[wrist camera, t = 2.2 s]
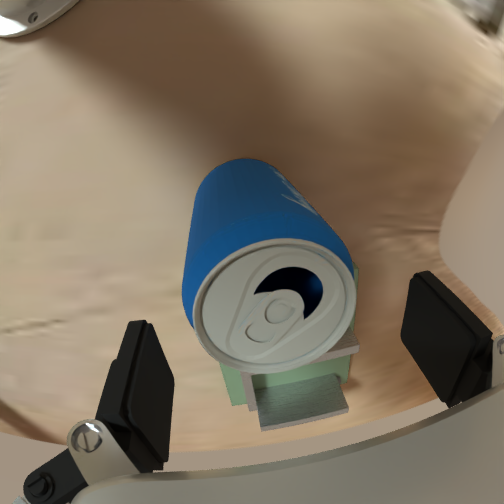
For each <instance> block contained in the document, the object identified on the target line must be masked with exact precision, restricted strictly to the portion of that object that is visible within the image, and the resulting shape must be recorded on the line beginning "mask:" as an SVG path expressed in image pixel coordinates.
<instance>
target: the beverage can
mask: <svg viewBox="0 0 504 504" xmlns="http://www.w3.org/2000/svg"><path fill="white" fill-rule="evenodd" d="M356 299H357V297H356V287H355V283H354V268H353V264H352V260H351V257H350V254H349V252H348V250H347V248H346V246H345V245H344V243H343V241H342V240H341V239H340V238H339V236H338V235H337V234H336V233H335V232H334V231H333V230H332V228H331V227H330V226H329V225H328V224H327V223H326V222H325V221H324V219H323V218H322V217H321V216H320V215H319V214H318V213H317V212H316V210H315V209H314V208H313V207H312V206H311V205H310V204H309V203H308V202H307V201H306V199H305V198H304V197H303V196H302V195H301V194H300V193H299V192H298V191H297V190H296V189H295V188H294V186H293V185H292V184H291V183H290V182H289V181H288V180H287V179H286V178H285V177H284V176H283V175H282V174H281V173H280V172H279V171H278V170H277V169H276V168H274V167H273V166H271V165H269V164H267V163H265V162H263V161H259V160H255V159H237V160H232V161H229V162H226V163H224V164H222V165H220V166H218V167H216V168H215V169H214V170H212V171H211V172H210V173H209V174H208V175H207V176H206V177H205V179H204V180H203V181H202V183H201V185H200V186H199V188H198V191H197V193H196V197H195V202H194V208H193V214H192V220H191V227H190V233H189V240H188V246H187V253H186V260H185V267H184V275H183V282H182V300H183V306H184V310H185V313H186V316H187V318H188V320H189V322H190V324H191V326H192V327H193V329H194V330H195V333H196V336H197V338H198V340H199V342H200V344H201V345H202V346H203V348H204V349H205V350H206V351H207V352H208V353H209V355H211V356H212V357H213V358H214V359H216V360H217V361H219V362H220V363H222V364H224V365H226V366H228V367H230V368H232V369H236V370H239V371H243V372H248V373H257V374H270V373H279V372H284V371H289V370H292V369H296V368H298V367H301V366H303V365H306V364H308V363H310V362H312V361H314V360H315V359H317V358H319V357H320V356H322V355H323V354H324V353H326V352H327V351H328V350H330V349H331V348H332V347H333V346H334V345H335V344H336V343H337V342H338V341H339V340H340V338H341V337H342V336H343V334H344V333H345V332H346V330H347V328H348V327H349V325H350V323H351V320H352V318H353V315H354V312H355V308H356Z"/></svg>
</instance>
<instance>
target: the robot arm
mask: <svg viewBox="0 0 504 504" xmlns="http://www.w3.org/2000/svg"><path fill="white" fill-rule="evenodd" d="M78 1H79V0H0V37H4V38H7V37H18V36H21V35H25V34H29V33H31V32H33V31H35V30H38V29H40V28H42V27H44V26H46V25H47V24H49V23H50V22H52V21H54V20H55V19H57V18H58V17H60V16H61V15H62V14H64V13H65V12H66V11H68V10H69V9H70V8H72V7H73V6H74V5H75V4H76V3H77V2H78ZM492 334H493V333H492V332H491V331H490V330H489V329H488V328H487V327H486V326H485V325H484V323H483V322H482V321H481V320H480V319H479V318H478V317H477V316H476V315H475V314H474V313H473V312H472V311H471V310H470V309H469V308H468V307H467V306H466V305H465V304H464V303H463V302H462V301H461V300H460V299H459V298H458V297H457V296H456V295H455V294H454V293H453V292H452V291H451V290H450V289H448V288H447V287H446V286H445V285H444V284H443V283H442V282H441V281H440V280H439V279H438V278H437V277H436V276H435V275H434V274H432V273H431V272H430V271H423V272H419V273H416V274H414V276H413V278H411V280H410V284H409V290H408V296H407V302H406V308H405V313H404V319H403V324H402V329H401V340H402V342H403V344H404V345H405V347H406V348H407V350H408V351H409V352H410V354H411V355H412V357H413V358H414V360H415V361H416V363H417V364H418V366H419V368H420V369H421V371H422V372H423V374H424V375H425V377H426V378H427V380H428V381H429V383H430V385H431V386H432V388H433V389H434V391H435V392H436V394H437V396H438V397H439V399H440V400H441V401H442V402H445V403H446V405H447V406H448V408H449V409H447V410H445V411H443V412H441V413H438V414H436V415H434V416H431V417H429V418H427V419H424V420H422V421H419V422H417V423H414V424H412V425H409V426H406V427H404V428H401V429H398V430H395V431H392V432H390V433H387V434H384V435H381V436H378V437H375V438H372V439H369V440H365V441H362V442H359V443H356V444H352V445H348V446H345V447H341V448H337V449H334V450H329V451H325V452H321V453H317V454H313V455H308V456H303V457H298V458H293V459H288V460H283V461H277V462H271V463H264V464H258V465H250V466H242V467H233V468H222V469H211V470H198V471H179V472H158V473H153V470H163V464H164V462H167V461H168V457H169V443H170V430H171V417H172V406H173V395H174V377H173V374H172V372H171V369H170V367H169V365H168V362H167V360H166V357H165V355H164V353H163V350H162V348H161V345H160V343H159V340H158V337H157V335H156V332H155V330H154V327H153V325H152V324H151V323H147V321H146V320H138V321H130V322H129V323H128V326H127V329H126V332H125V335H124V338H123V341H122V344H121V347H120V350H119V353H118V356H117V359H115V360H113V361H112V364H111V366H110V369H109V372H108V376H107V379H106V382H105V386H104V389H103V392H102V396H101V399H100V403H99V406H98V410H97V413H96V417H95V419H87V420H83V421H80V422H78V423H77V424H76V425H74V426H73V427H72V429H71V430H70V431H69V433H68V436H67V446H68V448H67V449H66V450H65V451H63V452H62V453H60V454H59V455H57V456H56V457H54V458H53V459H51V460H50V461H48V462H47V463H45V464H44V465H42V466H41V467H39V468H38V469H36V470H35V471H33V472H32V473H31V474H30V475H28V477H27V478H26V480H25V482H24V486H23V488H24V489H23V490H24V496H23V497H20V496H18V498H16V500H15V501H14V502H13V503H12V504H504V335H500V336H498V337H496V338H495V340H494V341H493V340H492V339H491V337H492ZM460 402H462V403H460ZM459 403H460V404H459ZM457 404H458V405H457ZM455 405H456V406H455ZM453 406H454V407H453ZM451 407H452V408H451Z"/></svg>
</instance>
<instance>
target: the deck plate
mask: <svg viewBox="0 0 504 504" xmlns="http://www.w3.org/2000/svg"><path fill="white" fill-rule="evenodd" d="M352 264H353V268H354V283H355V287H356V297H357V287H358V272H359V268H358V267H357V266H356V265H355V263H354V262H353V263H352ZM356 300H357V299H356ZM355 311H356V308H355ZM354 321H355V312H354V315H353V318H352V320H351V323H350V325H349V326H350V328H351V330H352V331H354ZM350 356H351V354H350V355H346V356H342V357H338V358H334V359H330V360H326V361H322V362H317V363H313V364H308V365H304V366H301V367H298V368H296V369H292V370H289V371H284V372H279V373H270V374H256V375H251V376H252V381H253V386H254V389H260V388H265V387H271V386H276V385H282V384H287V383H292V382H297V381H301V380H306V379H311V378H315V377H319V376H324V375H328V374H332V373H335V375H336V378H337V380H338V382H339V385H340V384H344V383H347V377H348V371H349V363H350ZM219 363H220V362H219ZM220 367H221V370H222V374H223V377H224V380H225V384H226V387H227V390H228V394H229V397H230V400H231V403H232V406H235V405H242V404H247V400H246V396H245V392H244V388H243V383H242V379H241V375H240V371H239V370H236V369H232V368H230V367H228V366H226V365H224V364H222V363H220Z"/></svg>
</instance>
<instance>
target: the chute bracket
mask: <svg viewBox="0 0 504 504" xmlns="http://www.w3.org/2000/svg"><path fill="white" fill-rule="evenodd" d="M359 347H360V344H359V342H358V340H357V339H356V337H355V335H354V333H353V331H352V330H351V328H350V326H349V327H348V328H347V330H346V332H345V333H344V334H343V336H342V337H341V338H340V340H339V341H338V342H337V343H336V344H335V345H334V346H333V347H332V348H331V349H330V350H328V351H327V352H326V353H324V354H323V355H322V356H320V357H319V358H317V359H315V360H314V361H312V362H310V363H308V364H313V363H317V362H322V361H326V360H330V359H334V358H338V357H342V356H346V355H350V354H354V353H358V352H359ZM308 364H306V365H308ZM303 366H304V365H303ZM256 374H257V373H248V372H243V371H240V375H241V379H242V383H243V388H244V392H245V396H246V400H247V404H248V408H249V411H255V410H258V415H259V421H260V427H261V432H262V431H268V430H273V429H279V428H284V427H289V426H294V425H299V424H303V423H308V422H312V421H316V420H321V419H325V418H329V417H333V416H336V415H340V414H344V413H347V412H348V410H349V407H348V404H347V402H346V399H345V397H344V394H343V392H342V390H341V387H340V385H339V382H338V380H337V378H336V375H335V373H332V374H328V375H324V376H319V377H315V378H311V379H306V380H301V381H297V382H292V383H287V384H282V385H276V386H271V387H265V388H260V389H254V386H253V381H252V376H251V375H256Z"/></svg>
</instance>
